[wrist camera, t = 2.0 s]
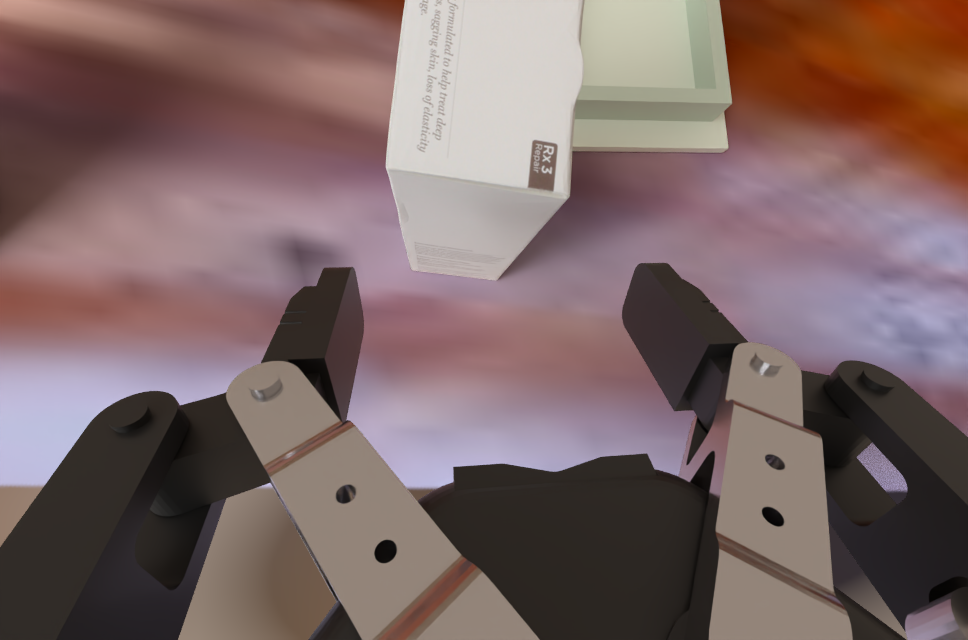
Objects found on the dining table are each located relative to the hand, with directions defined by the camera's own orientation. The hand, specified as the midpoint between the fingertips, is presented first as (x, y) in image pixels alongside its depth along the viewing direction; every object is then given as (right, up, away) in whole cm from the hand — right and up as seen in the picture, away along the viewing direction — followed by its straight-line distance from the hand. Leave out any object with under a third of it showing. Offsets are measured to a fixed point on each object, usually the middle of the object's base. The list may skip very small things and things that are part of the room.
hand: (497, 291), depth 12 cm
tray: (+9, +20, +18) cm, 28 cm away
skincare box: (-2, +6, +15) cm, 16 cm away
